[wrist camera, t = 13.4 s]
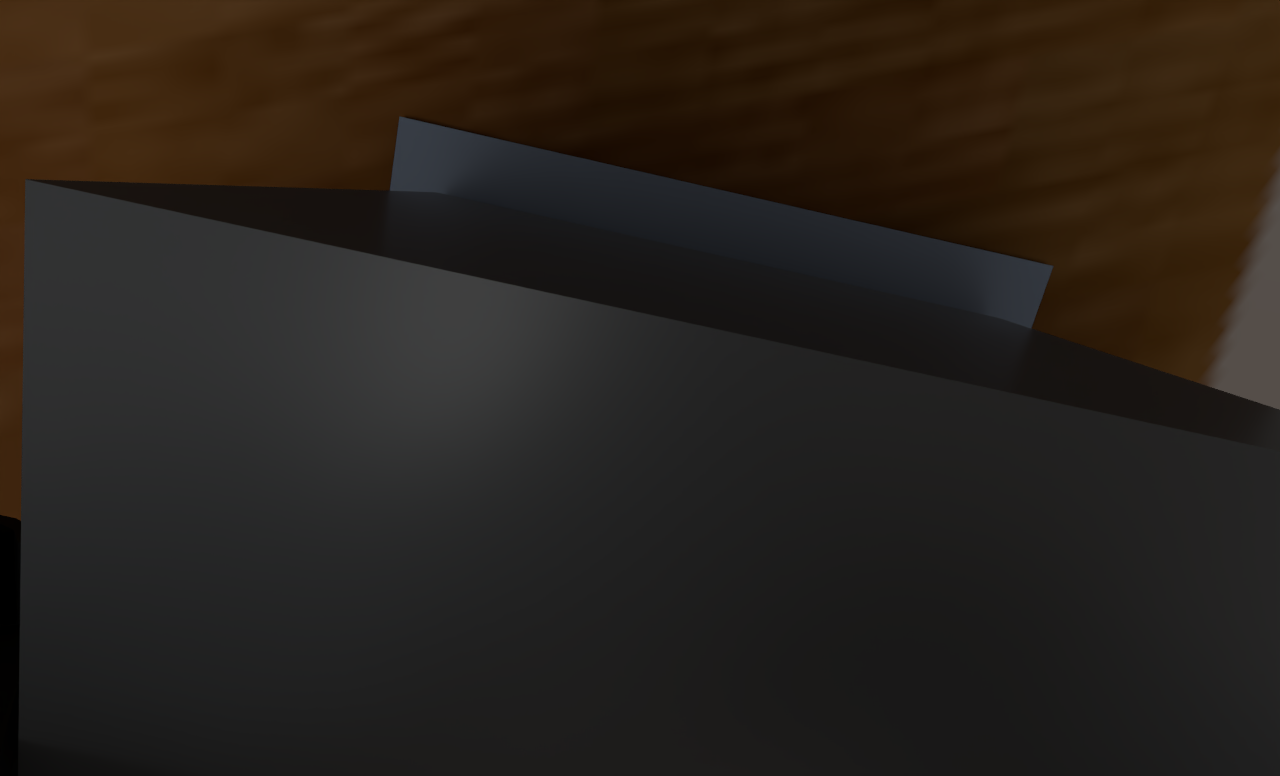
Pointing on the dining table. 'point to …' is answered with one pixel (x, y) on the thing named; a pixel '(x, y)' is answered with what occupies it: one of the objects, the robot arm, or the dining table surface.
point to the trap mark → (715, 221)
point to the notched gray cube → (603, 511)
